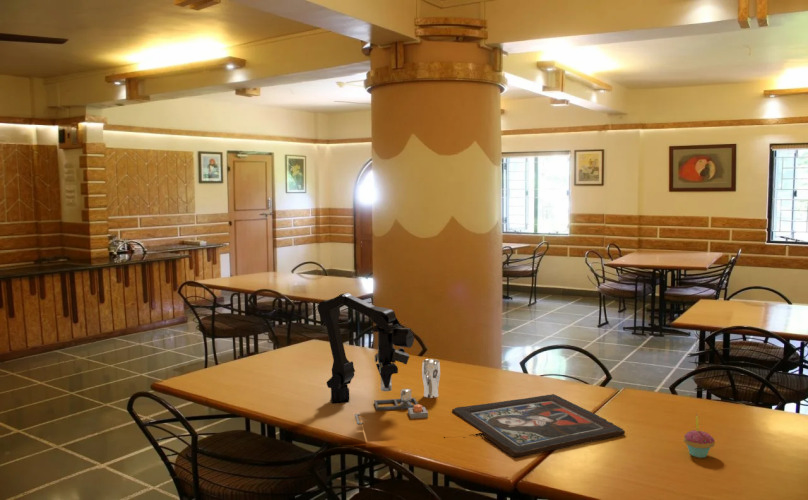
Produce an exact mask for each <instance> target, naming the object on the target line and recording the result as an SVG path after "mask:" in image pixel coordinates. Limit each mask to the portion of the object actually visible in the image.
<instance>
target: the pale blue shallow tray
mask: <svg viewBox="0 0 808 500" xmlns="http://www.w3.org/2000/svg"><path fill="white" fill-rule="evenodd" d="M354 414H355V413H354ZM354 416H355V419H356V420H355V421H356V423H357V425H363V424H364V423H363V422H360V421H359V418H358V416H361V414H360V413H356V414H355V415H354Z"/></svg>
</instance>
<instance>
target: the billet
mask: <svg viewBox="0 0 808 500" xmlns="http://www.w3.org/2000/svg"><path fill="white" fill-rule="evenodd" d="M392 375H393V374H392ZM392 375H391V379H390V383H389V387H388V388H385V386H384V383H383V381H382V378H381V377H380V391H382V392H391V391H392V390H393V389H392V386H393V385H392V382H393V381H392V379H393V378H392Z"/></svg>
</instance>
